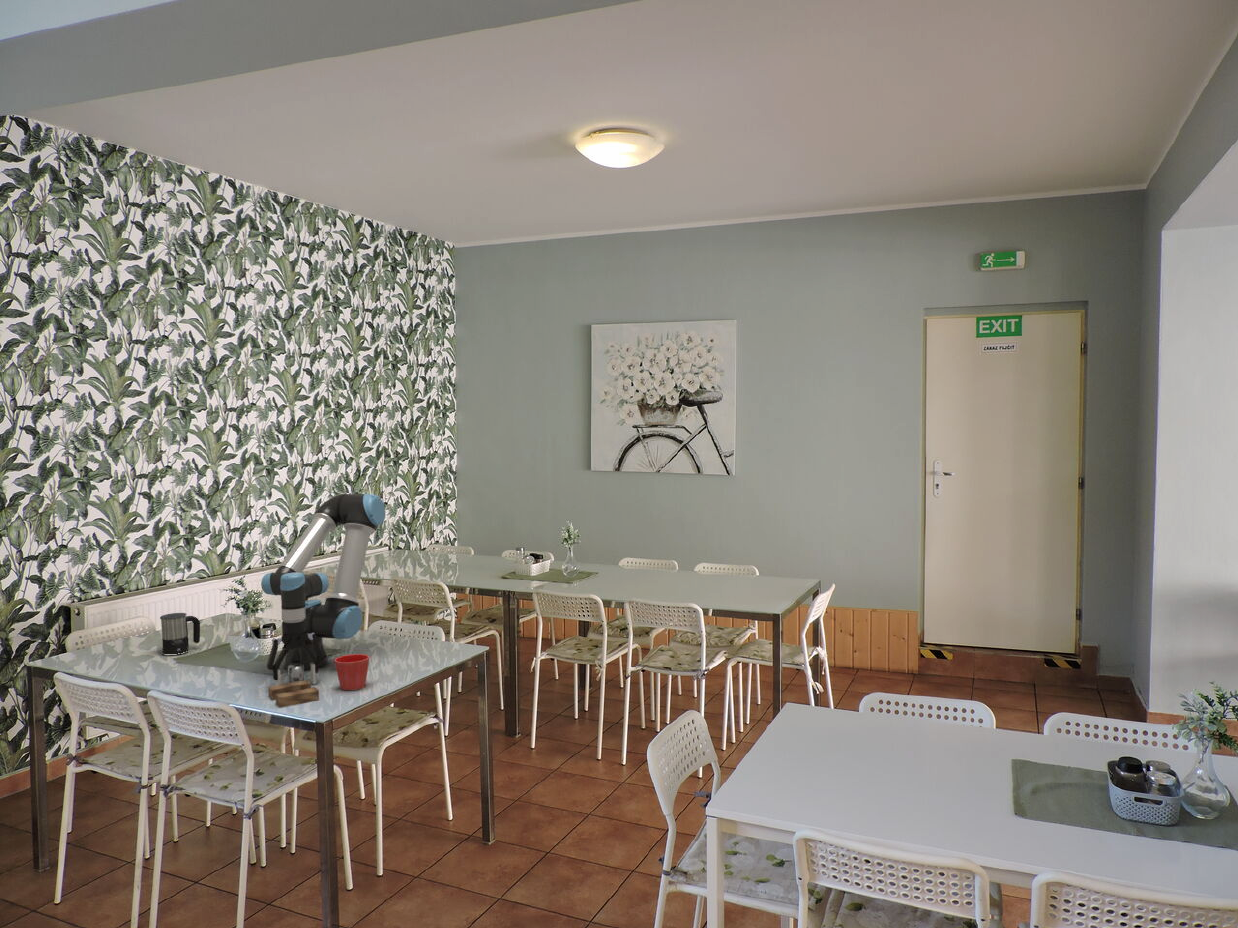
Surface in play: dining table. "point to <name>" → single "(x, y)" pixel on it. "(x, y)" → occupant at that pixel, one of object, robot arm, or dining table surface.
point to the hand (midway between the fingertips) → (296, 686)
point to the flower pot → (352, 671)
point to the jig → (293, 693)
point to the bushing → (295, 673)
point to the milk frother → (178, 632)
